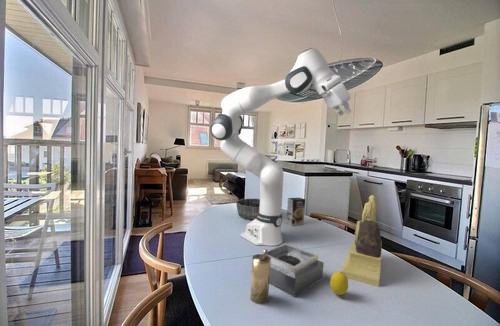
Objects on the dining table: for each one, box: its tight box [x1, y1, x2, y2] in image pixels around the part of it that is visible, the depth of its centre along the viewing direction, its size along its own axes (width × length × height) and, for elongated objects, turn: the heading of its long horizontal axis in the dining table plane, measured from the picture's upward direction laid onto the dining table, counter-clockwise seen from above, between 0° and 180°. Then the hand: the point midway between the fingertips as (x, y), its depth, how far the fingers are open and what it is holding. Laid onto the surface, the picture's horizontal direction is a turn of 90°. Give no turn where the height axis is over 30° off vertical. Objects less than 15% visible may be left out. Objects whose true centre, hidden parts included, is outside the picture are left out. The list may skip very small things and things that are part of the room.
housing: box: [260, 243, 324, 298], centre depth 95 cm, size 18×18×8 cm
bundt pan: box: [235, 198, 260, 221], centre depth 172 cm, size 26×26×10 cm
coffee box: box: [285, 197, 306, 227], centre depth 160 cm, size 9×6×16 cm
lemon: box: [329, 271, 349, 297], centre depth 84 cm, size 6×6×8 cm
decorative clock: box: [340, 194, 383, 288], centre depth 106 cm, size 28×13×30 cm, turn 152°
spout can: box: [249, 248, 271, 305], centre depth 80 cm, size 6×6×16 cm
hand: (345, 114), depth 105 cm, fingers open, 8 cm apart
